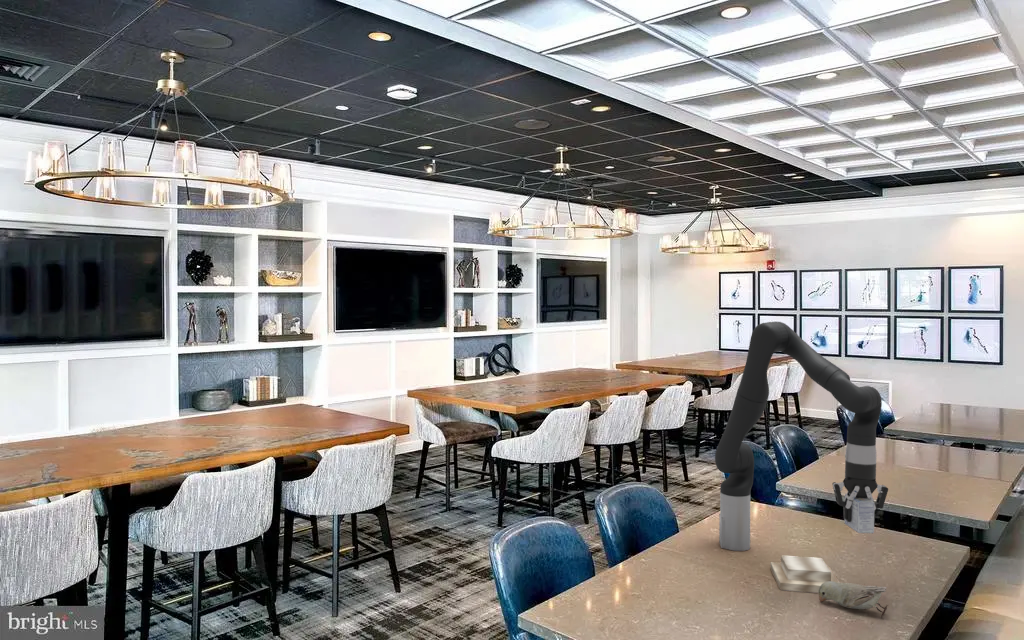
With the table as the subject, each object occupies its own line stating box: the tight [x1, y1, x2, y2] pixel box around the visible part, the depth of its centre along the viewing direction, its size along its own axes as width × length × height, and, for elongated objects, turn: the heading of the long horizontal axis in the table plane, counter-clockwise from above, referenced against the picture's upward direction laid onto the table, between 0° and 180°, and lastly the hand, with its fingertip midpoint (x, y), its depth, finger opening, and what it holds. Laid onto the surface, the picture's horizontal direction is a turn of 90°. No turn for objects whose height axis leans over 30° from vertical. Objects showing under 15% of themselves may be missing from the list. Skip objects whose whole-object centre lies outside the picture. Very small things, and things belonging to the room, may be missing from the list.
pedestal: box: [770, 555, 841, 594], centre depth 196 cm, size 16×16×5 cm
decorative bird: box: [818, 581, 888, 619], centre depth 177 cm, size 5×16×8 cm, turn 54°
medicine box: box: [844, 493, 875, 534], centre depth 190 cm, size 8×4×9 cm, turn 179°
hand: (858, 521), depth 190 cm, fingers closed on medicine box, 5 cm apart
